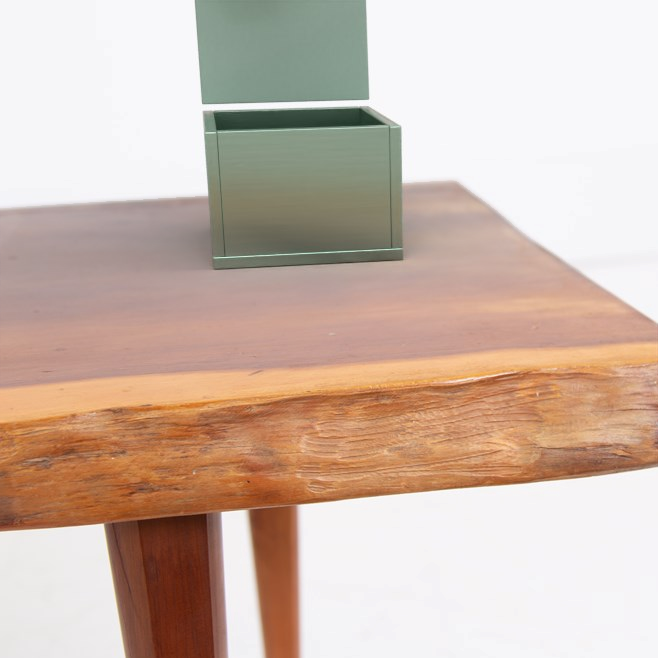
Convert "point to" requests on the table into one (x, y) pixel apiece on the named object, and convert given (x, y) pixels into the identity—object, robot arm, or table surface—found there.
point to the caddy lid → (282, 50)
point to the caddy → (303, 186)
